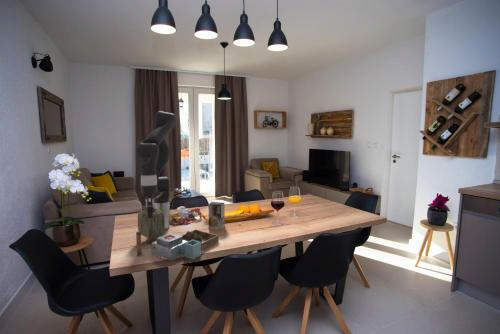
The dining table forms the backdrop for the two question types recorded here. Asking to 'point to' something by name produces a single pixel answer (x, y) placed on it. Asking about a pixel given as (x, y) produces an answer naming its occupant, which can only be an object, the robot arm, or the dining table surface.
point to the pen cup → (192, 249)
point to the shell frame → (210, 238)
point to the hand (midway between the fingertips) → (150, 215)
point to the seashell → (193, 237)
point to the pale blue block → (169, 246)
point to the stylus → (138, 243)
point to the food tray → (185, 215)
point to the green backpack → (151, 223)
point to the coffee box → (216, 215)
